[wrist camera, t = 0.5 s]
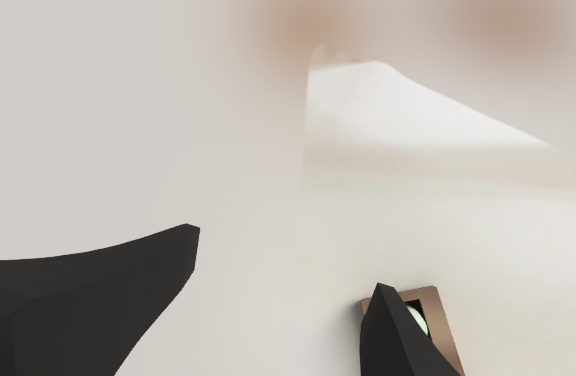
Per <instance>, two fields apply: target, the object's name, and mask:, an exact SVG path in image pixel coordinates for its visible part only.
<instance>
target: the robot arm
mask: <svg viewBox="0 0 576 376" xmlns="http://www.w3.org/2000/svg"><path fill="white" fill-rule="evenodd" d="M199 234H200V228H199V227H196V226H193V225H189V224H182V225H179V226H176V227H173V228H170V229H167V230H164V231H161V232H158V233H155V234H152V235H149V236H146V237H143V238H140V239H136V240H133V241H129V242H126V243H123V244H120V245H115V246H111V247H107V248H104V249H98V250H93V251H89V252H83V253H76V254H69V255H62V256H55V257H46V258H35V259H20V260H0V376H114V375H115V374H116V372H117V370H118V369H119V368H120V366H121V365H122V363H123V362H124V360H125V359H126V358H127V356H128V355H129V353H130V351H131V350H132V349H133V348H134V346H135V345H136V343H137V342H138V341H139V340H140V338H141V337H142V336H143V334H144V333H145V332H146V331H147V330H148V329H149V327H150V326H151V325H152V324H153V323H154V322H155V320H156V319H157V318H158V317H159V316H160V314H161V313H162V312H163V311H164V310H165V309H166V308H167V307H168V305H169V304H170V303H171V302H172V301H173V299H174V298H175V297H176V296H177V295H178V293H179V292H180V291H181V290H182V288H183V287H184V285H185V284H186V282H187V280H188V279H189V278H190V276H191V274H192V273H193V271H194V267H195V261H196V254H197V247H198V241H199ZM360 367H361V376H461V375H460V374H459V373H458V372H457V371H456V370H455V369H454V367H453V366H452V365H451V364H450V363H449V362H448V361H447V360H446V358H445V357H444V356H443V355H442V354H441V353H440V351H439V350H438V349H437V347H436V346H435V345H434V344H433V342H432V341H431V340H430V339H429V337H428V336H427V335H426V333H425V332H424V331H423V329H422V328H421V326H420V325H419V324H418V322H417V321H416V319H415V318H414V316H413V315H412V314H411V312H410V311H409V309H408V308H407V306H406V305H405V303H404V302H403V300H402V299H401V297H400V296H399V294H398V293H397V291H396V290H395V288H394V287H391V286H388V285H384V284H381V283H377V285H376V288H375V290H374V293H373V295H372V298H371V301H370V303H369V306H368V308H367V311H366V313H365V316H364V318H363V321H362V323H361V334H360Z"/></svg>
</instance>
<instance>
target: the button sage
mask: <svg viewBox="0 0 576 376" xmlns="http://www.w3.org/2000/svg"><path fill="white" fill-rule="evenodd" d="M406 306H407V308H408V309H409V311H410V312H411V314H412V315H413V316H414V318H415V319H416V321H417V322H418V324H419V325H420V326H421V328H422V329H423V331H424V332H425V333H426V335H427V326H426V323H425V321H424V320H423V318H422V317H421V315H420V314H419V313H418V311H417V310H416V309H414V308H413V307H411V306H409V305H406Z"/></svg>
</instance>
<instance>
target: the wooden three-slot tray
mask: <svg viewBox="0 0 576 376" xmlns="http://www.w3.org/2000/svg"><path fill="white" fill-rule="evenodd" d="M398 294H399V296H400V297H401V299H402V300H403V302H405V301H411V300H416V299H418V301H419V304H420V307H421V311H422V314H423V317H424V320H425V323H426V326H427V330H428V334H429V336H428V337H429V339H430V340H431V341H432V342H433V344H434V345H435V346H436V347H437V349H438V350H439V351H440V353H441V354H442V355H443V356H444V357H445V358H446V360H447V361H448V362H449V363H450V364H451V365H452V366H453V367H454V369H455V370H456V371H457V372H458V373H459V374H460V375H461V376H465V374H464V371H463V368H462V365H461V362H460V359H459V356H458V352H457V349H456V346H455V343H454V340H453V337H452V334H451V331H450V328H449V325H448V322H447V318H446V315H445V312H444V309H443V306H442V303H441V300H440V297H439V294H438V291H437V288H436V287H434V286H429V287H424V288H419V289H414V290H408V291H403V292H398ZM370 301H371V298H367V299H362V300H361V305H362V309H363V313H364V316H365V313H366V311H367V308H368V306H369V303H370Z"/></svg>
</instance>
